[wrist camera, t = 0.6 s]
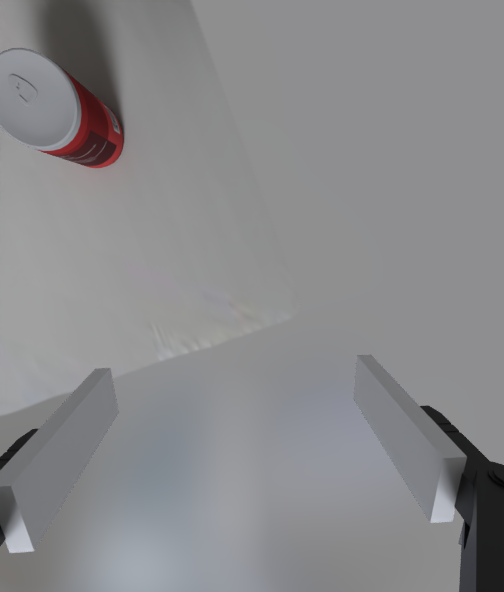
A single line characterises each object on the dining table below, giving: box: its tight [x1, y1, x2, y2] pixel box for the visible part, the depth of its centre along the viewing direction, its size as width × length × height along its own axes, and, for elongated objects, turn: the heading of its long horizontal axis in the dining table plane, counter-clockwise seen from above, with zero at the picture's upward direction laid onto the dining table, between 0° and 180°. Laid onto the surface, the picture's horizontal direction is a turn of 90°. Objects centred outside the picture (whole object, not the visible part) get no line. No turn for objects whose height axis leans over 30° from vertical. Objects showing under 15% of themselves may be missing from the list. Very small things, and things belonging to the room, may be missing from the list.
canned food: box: [0, 48, 123, 168], centre depth 30 cm, size 8×8×11 cm
